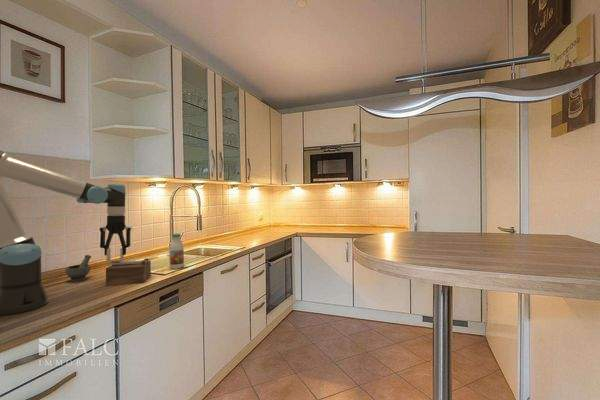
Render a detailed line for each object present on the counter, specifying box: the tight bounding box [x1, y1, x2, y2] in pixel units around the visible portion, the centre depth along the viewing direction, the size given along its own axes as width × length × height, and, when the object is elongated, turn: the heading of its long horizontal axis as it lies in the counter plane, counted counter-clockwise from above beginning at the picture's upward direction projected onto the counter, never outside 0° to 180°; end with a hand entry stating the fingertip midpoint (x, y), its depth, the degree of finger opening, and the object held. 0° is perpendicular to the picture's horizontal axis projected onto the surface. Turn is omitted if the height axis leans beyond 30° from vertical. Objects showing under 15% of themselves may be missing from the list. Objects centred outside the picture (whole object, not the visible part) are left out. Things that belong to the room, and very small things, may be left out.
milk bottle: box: [168, 233, 185, 270], centre depth 168 cm, size 8×8×20 cm
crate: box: [105, 258, 152, 287], centre depth 143 cm, size 14×17×10 cm
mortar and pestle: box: [65, 254, 92, 283], centre depth 145 cm, size 11×9×12 cm
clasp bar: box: [107, 259, 147, 266], centre depth 143 cm, size 4×17×2 cm, turn 105°
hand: (115, 261), depth 142 cm, fingers closed on clasp bar, 5 cm apart
